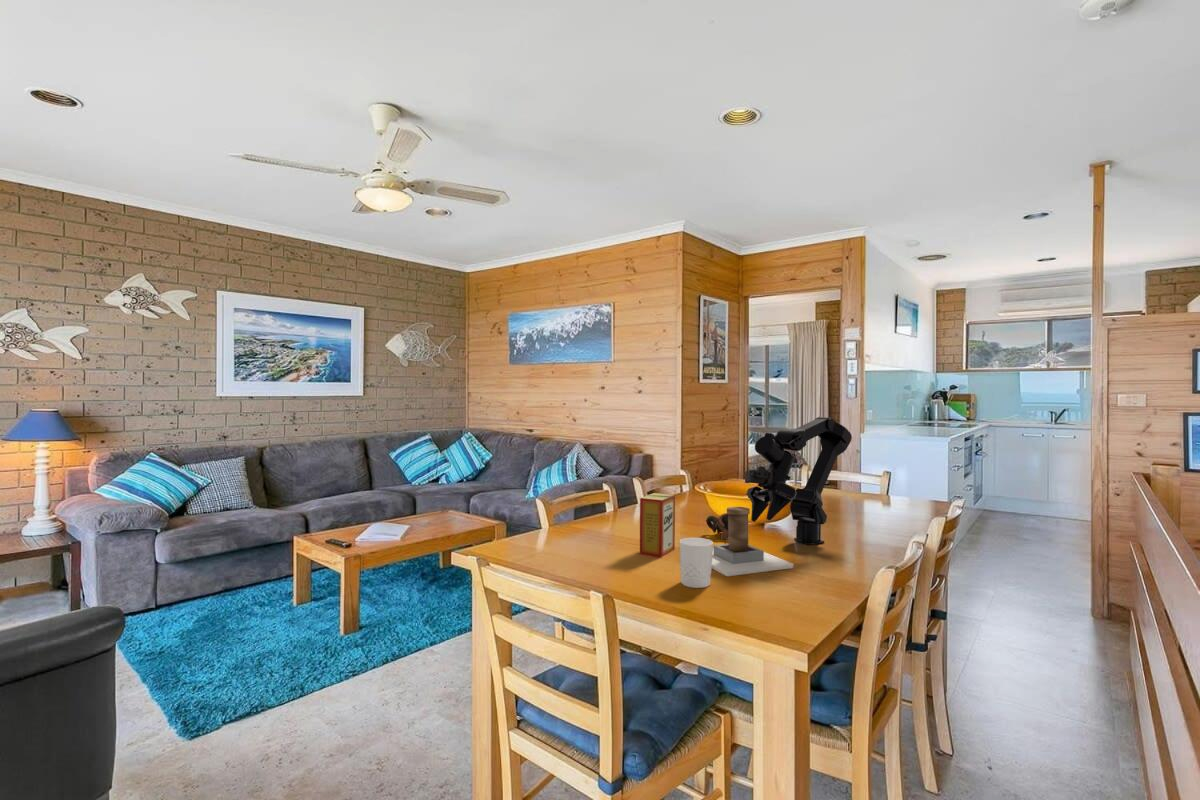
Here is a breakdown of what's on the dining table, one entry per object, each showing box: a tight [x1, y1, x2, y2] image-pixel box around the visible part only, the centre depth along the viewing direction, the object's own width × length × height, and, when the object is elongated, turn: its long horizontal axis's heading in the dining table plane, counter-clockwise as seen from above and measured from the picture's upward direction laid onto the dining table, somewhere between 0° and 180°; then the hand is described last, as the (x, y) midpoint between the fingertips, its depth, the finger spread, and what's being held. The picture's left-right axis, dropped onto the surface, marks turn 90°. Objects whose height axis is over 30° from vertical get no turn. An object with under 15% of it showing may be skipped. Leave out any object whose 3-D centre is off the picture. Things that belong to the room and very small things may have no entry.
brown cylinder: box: [726, 506, 751, 553], centre depth 161 cm, size 6×6×13 cm
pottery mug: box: [705, 512, 728, 541], centre depth 188 cm, size 12×10×8 cm
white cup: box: [678, 537, 714, 589], centre depth 142 cm, size 8×8×10 cm
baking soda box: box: [639, 492, 676, 558], centre depth 170 cm, size 10×6×16 cm
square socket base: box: [711, 543, 794, 577], centre depth 161 cm, size 20×20×4 cm
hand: (760, 520), depth 167 cm, fingers open, 9 cm apart
